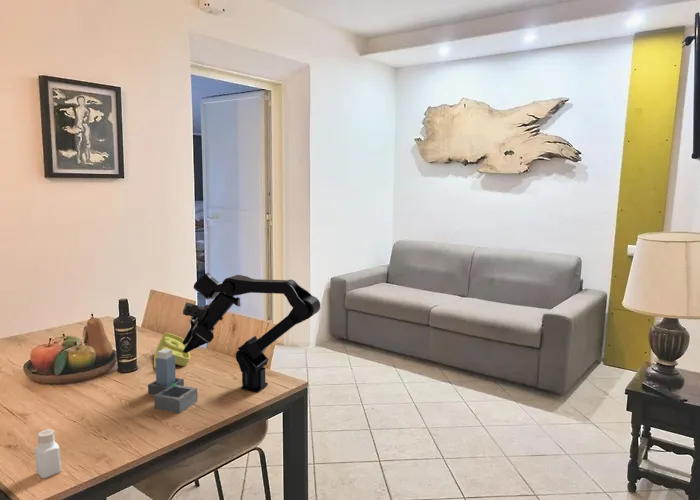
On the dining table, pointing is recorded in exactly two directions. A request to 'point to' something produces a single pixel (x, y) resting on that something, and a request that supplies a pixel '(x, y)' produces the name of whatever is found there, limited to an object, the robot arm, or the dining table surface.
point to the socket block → (175, 398)
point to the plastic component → (173, 348)
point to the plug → (165, 368)
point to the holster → (155, 389)
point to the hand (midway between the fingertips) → (183, 347)
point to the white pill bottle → (47, 454)
